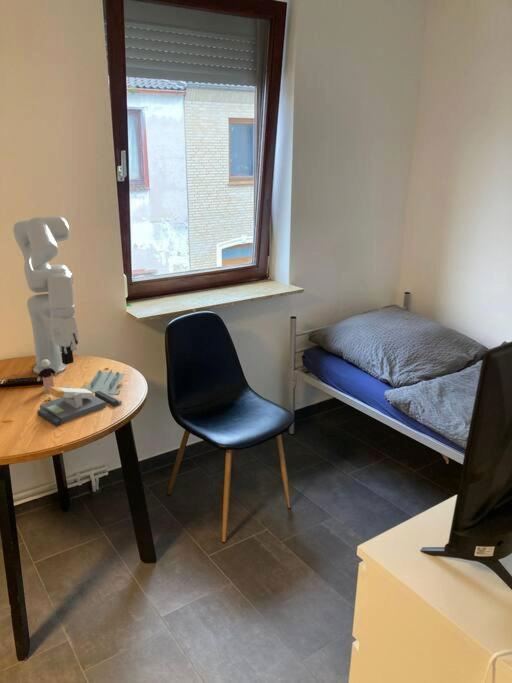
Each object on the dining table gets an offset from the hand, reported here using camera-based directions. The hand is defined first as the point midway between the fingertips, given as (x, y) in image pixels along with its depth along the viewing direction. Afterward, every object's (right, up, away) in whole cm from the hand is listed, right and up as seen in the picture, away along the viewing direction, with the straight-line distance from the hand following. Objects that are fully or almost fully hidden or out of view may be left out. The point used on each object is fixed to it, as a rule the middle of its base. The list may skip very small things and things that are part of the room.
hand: (67, 363), depth 183 cm
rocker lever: (0, -12, +4) cm, 12 cm away
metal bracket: (+6, -11, +24) cm, 27 cm away
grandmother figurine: (-14, -12, +19) cm, 26 cm away
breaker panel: (0, -16, +6) cm, 17 cm away
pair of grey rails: (+3, -16, +6) cm, 18 cm away
